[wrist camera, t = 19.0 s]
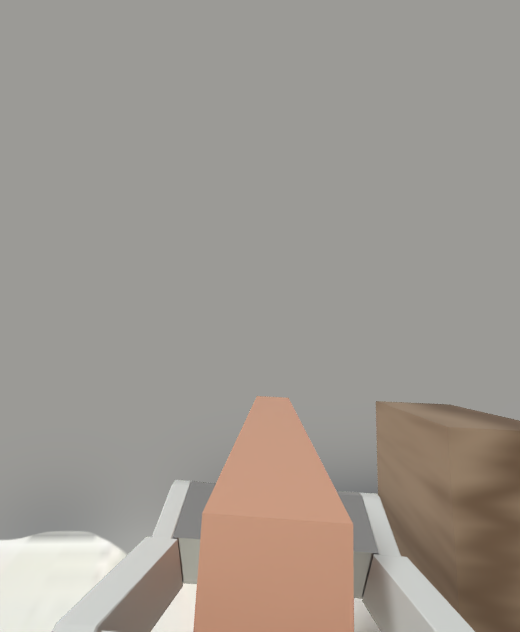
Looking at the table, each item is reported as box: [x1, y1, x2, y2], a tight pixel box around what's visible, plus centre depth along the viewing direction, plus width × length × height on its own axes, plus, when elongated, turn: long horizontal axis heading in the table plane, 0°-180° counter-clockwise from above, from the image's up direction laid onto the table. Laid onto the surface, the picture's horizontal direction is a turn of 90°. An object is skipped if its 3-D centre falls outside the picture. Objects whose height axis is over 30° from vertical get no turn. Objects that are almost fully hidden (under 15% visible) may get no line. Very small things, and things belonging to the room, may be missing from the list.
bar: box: [194, 396, 354, 632], centre depth 16 cm, size 3×22×3 cm, turn 178°
